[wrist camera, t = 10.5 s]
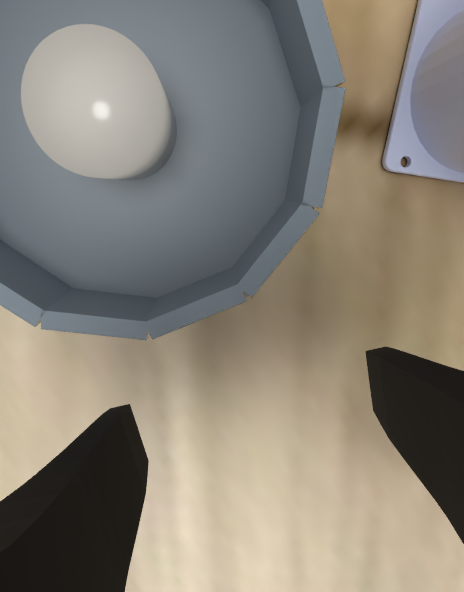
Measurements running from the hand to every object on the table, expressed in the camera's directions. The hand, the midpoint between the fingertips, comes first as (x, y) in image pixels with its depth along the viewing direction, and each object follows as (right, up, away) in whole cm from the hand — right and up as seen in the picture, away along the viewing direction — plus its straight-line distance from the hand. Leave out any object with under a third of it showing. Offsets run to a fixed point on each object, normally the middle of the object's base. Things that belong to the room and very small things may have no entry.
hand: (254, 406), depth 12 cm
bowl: (-5, +11, +6) cm, 14 cm away
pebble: (-5, +11, +5) cm, 13 cm away
